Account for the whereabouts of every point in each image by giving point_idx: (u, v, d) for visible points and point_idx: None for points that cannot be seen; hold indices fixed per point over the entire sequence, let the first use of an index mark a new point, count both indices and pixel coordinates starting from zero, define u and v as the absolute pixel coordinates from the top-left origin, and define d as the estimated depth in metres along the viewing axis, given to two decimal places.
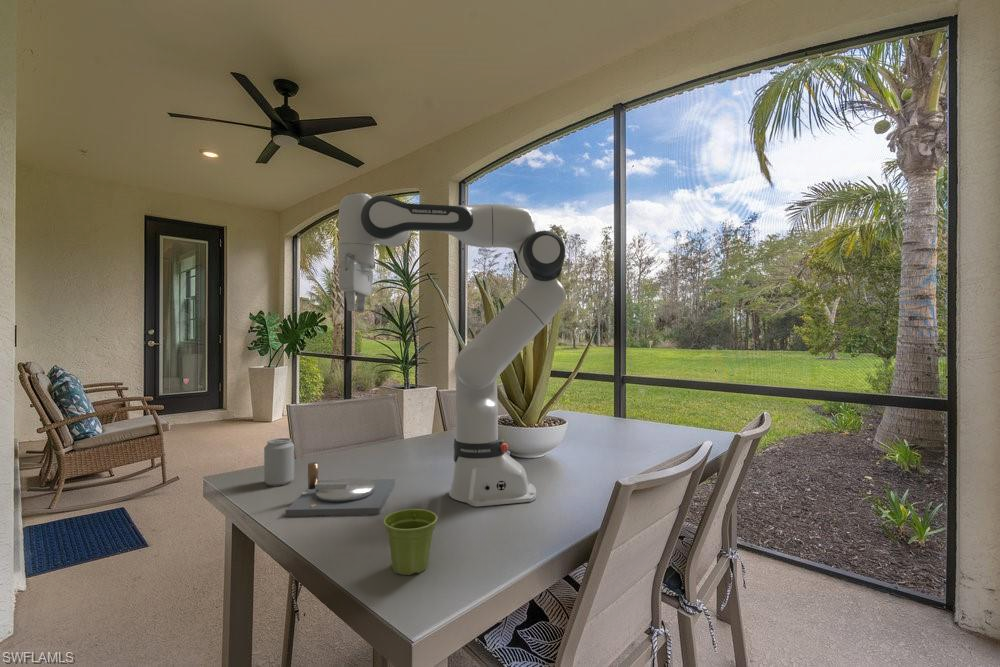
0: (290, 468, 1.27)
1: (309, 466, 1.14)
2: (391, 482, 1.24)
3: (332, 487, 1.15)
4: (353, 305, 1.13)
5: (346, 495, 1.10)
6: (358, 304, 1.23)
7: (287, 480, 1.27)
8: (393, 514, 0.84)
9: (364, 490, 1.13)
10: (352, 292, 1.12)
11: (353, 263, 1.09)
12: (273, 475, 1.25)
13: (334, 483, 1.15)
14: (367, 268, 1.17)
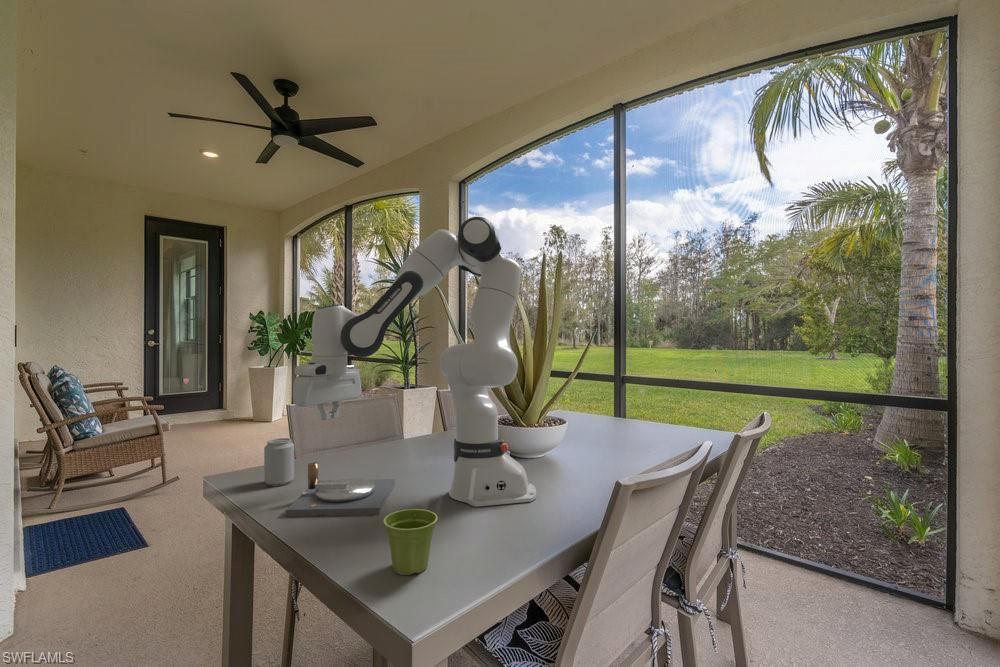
0: (290, 468, 1.27)
1: (309, 466, 1.14)
2: (391, 482, 1.24)
3: (332, 487, 1.15)
4: None
5: (346, 495, 1.10)
6: None
7: (287, 480, 1.27)
8: (393, 514, 0.84)
9: (364, 490, 1.13)
10: None
11: None
12: (273, 475, 1.25)
13: (334, 483, 1.15)
14: None
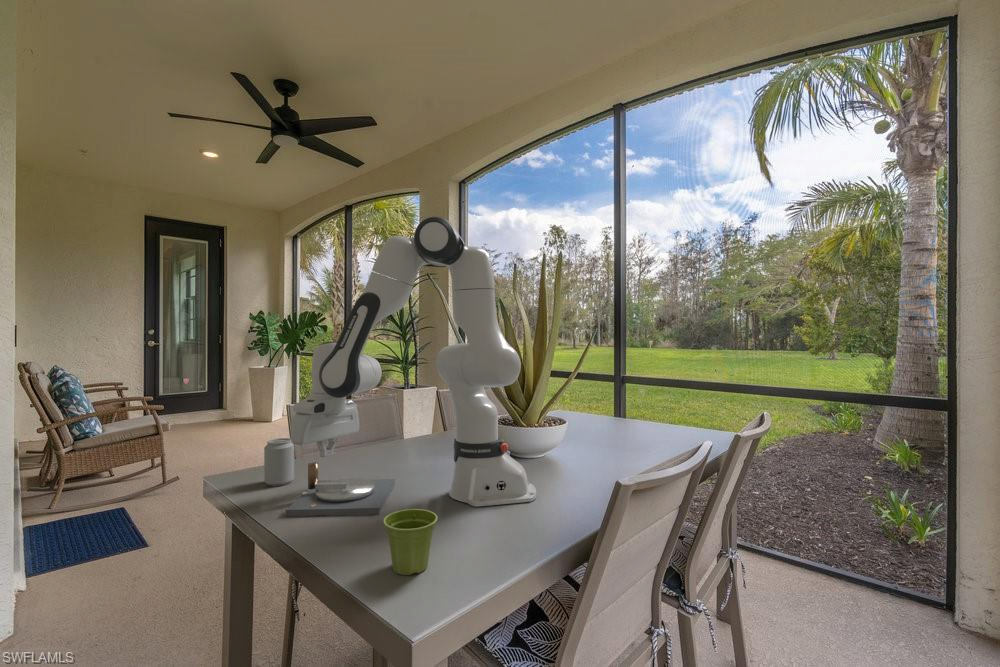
0: (290, 468, 1.27)
1: (309, 466, 1.14)
2: (391, 482, 1.24)
3: (332, 487, 1.15)
4: None
5: (346, 495, 1.10)
6: None
7: (287, 480, 1.27)
8: (393, 514, 0.84)
9: (364, 490, 1.13)
10: None
11: None
12: (273, 475, 1.25)
13: (334, 483, 1.15)
14: None
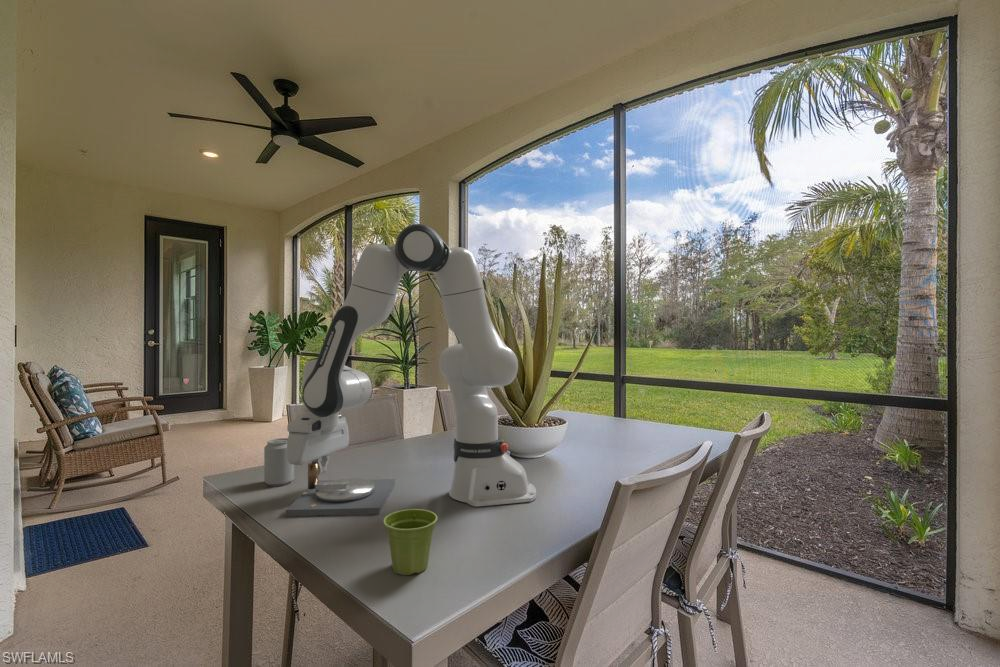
0: (290, 468, 1.27)
1: (309, 466, 1.14)
2: (391, 482, 1.24)
3: (333, 487, 1.15)
4: None
5: (346, 495, 1.10)
6: None
7: (287, 480, 1.27)
8: (393, 514, 0.84)
9: (364, 490, 1.13)
10: None
11: None
12: (273, 475, 1.25)
13: (334, 483, 1.15)
14: None
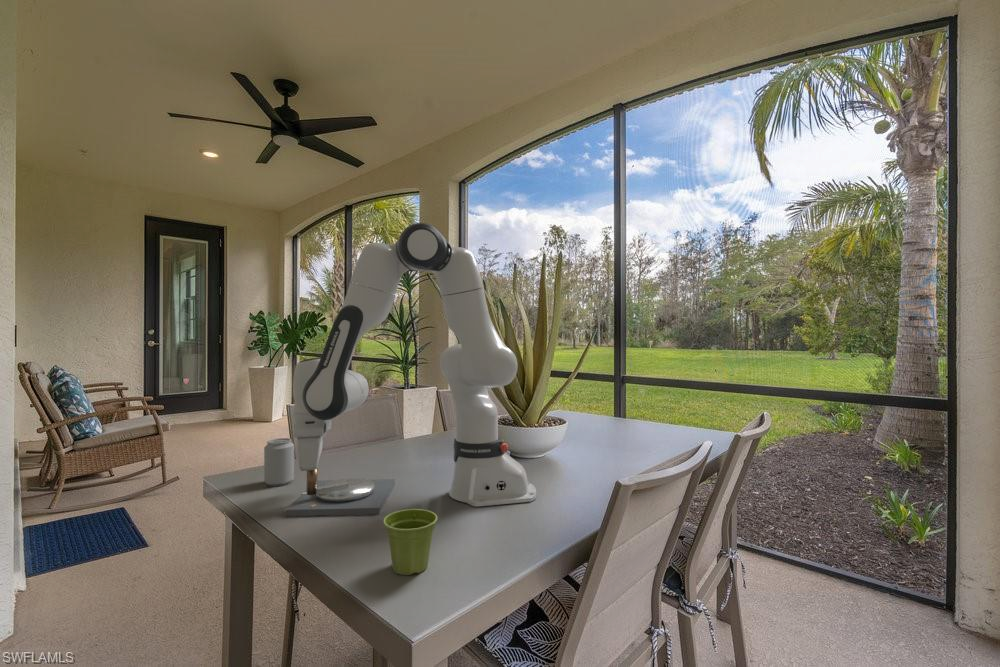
0: (290, 468, 1.27)
1: (310, 471, 1.10)
2: (391, 482, 1.24)
3: (335, 488, 1.13)
4: None
5: (361, 492, 1.12)
6: None
7: (287, 480, 1.27)
8: (393, 514, 0.84)
9: (369, 485, 1.17)
10: None
11: None
12: (273, 475, 1.25)
13: (334, 485, 1.14)
14: None
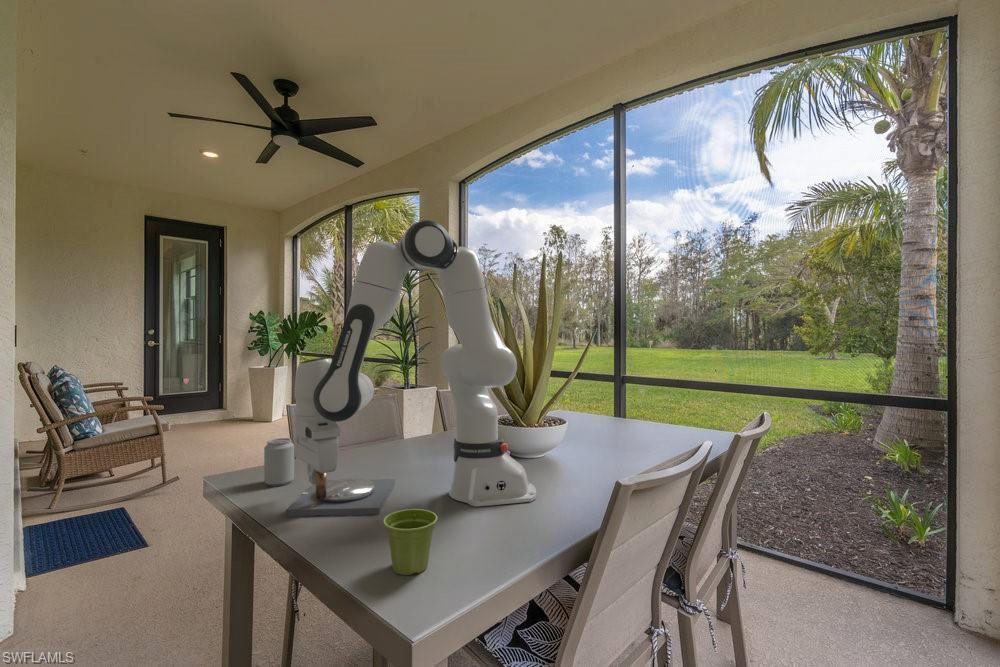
0: (290, 468, 1.27)
1: (322, 474, 1.08)
2: (391, 482, 1.24)
3: (340, 489, 1.13)
4: None
5: (370, 488, 1.15)
6: None
7: (287, 480, 1.27)
8: (393, 514, 0.84)
9: (368, 482, 1.19)
10: None
11: None
12: (273, 475, 1.25)
13: (338, 486, 1.13)
14: (300, 438, 1.09)
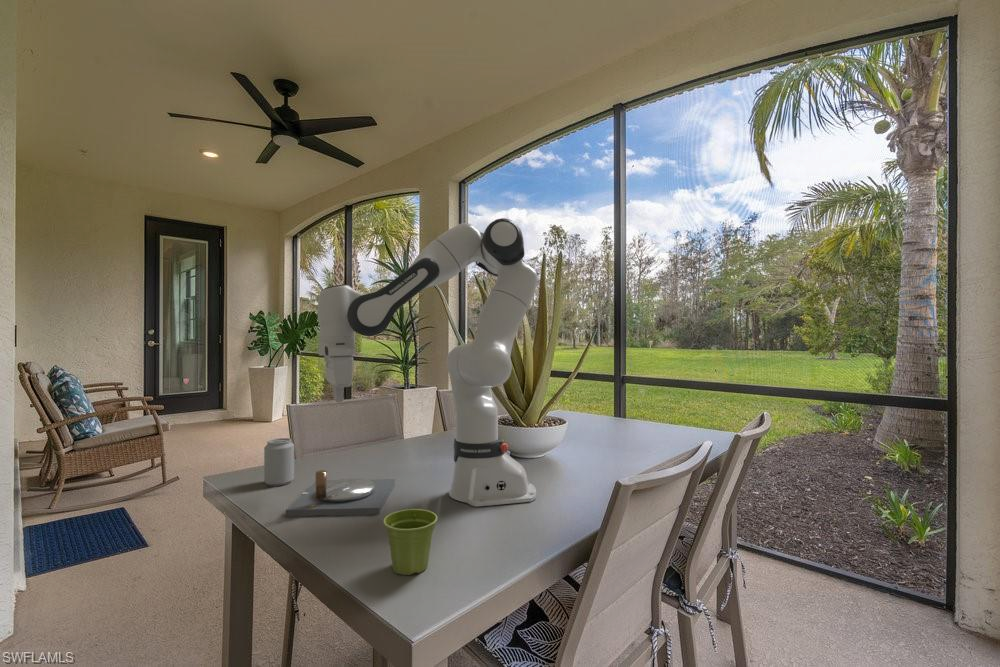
0: (290, 468, 1.27)
1: (322, 474, 1.08)
2: (391, 482, 1.24)
3: (340, 489, 1.13)
4: None
5: (370, 488, 1.15)
6: None
7: (287, 480, 1.27)
8: (393, 514, 0.84)
9: (368, 482, 1.19)
10: None
11: None
12: (273, 475, 1.25)
13: (338, 486, 1.13)
14: (324, 359, 1.18)
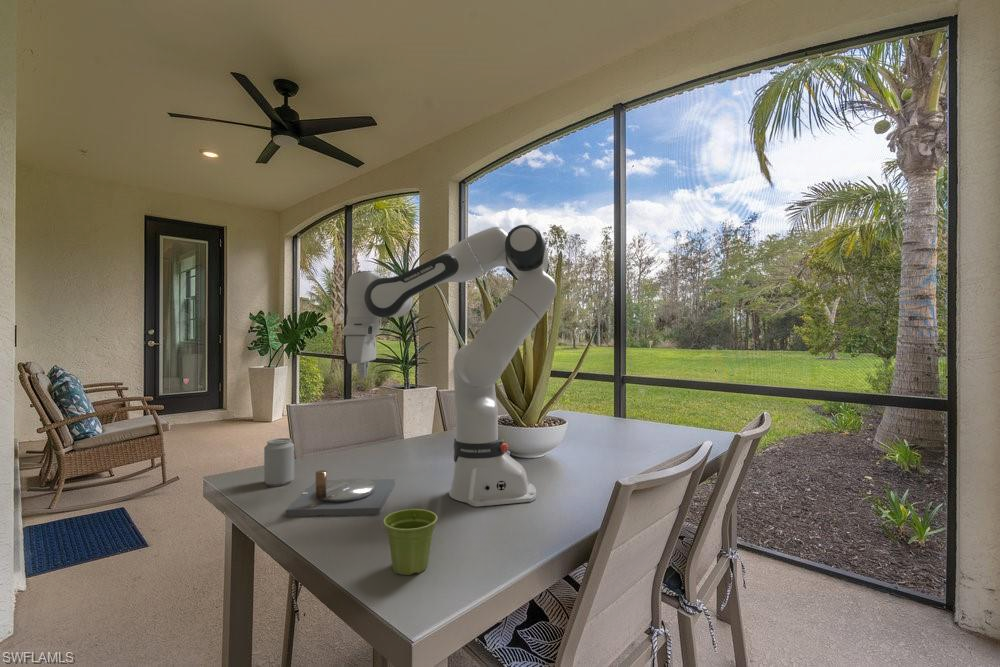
0: (290, 468, 1.27)
1: (322, 474, 1.08)
2: (391, 482, 1.24)
3: (340, 489, 1.13)
4: None
5: (370, 488, 1.15)
6: None
7: (287, 480, 1.27)
8: (393, 514, 0.84)
9: (368, 482, 1.19)
10: None
11: None
12: (273, 475, 1.25)
13: (338, 486, 1.13)
14: None
